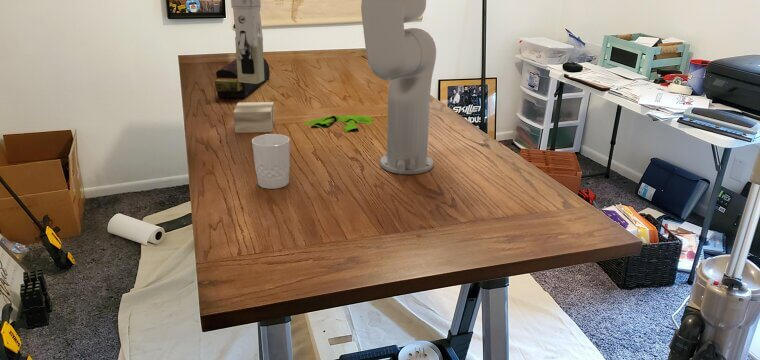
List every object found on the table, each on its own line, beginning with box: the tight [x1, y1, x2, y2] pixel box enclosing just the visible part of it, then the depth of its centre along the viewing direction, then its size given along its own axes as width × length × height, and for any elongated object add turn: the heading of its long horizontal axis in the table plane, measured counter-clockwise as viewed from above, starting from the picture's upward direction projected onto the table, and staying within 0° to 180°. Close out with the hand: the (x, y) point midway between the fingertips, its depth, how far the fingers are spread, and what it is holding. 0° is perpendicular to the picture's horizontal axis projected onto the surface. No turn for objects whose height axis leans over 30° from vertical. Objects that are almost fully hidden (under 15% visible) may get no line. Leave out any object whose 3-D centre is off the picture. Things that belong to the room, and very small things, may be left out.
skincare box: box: [234, 36, 265, 84], centre depth 152 cm, size 6×4×12 cm
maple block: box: [232, 101, 275, 133], centre depth 158 cm, size 10×10×6 cm
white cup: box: [251, 133, 291, 190], centre depth 121 cm, size 8×8×10 cm
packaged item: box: [214, 56, 271, 99], centre depth 199 cm, size 39×10×10 cm, turn 175°
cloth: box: [302, 114, 375, 133], centre depth 162 cm, size 20×22×2 cm
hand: (251, 70), depth 153 cm, fingers closed on skincare box, 5 cm apart
